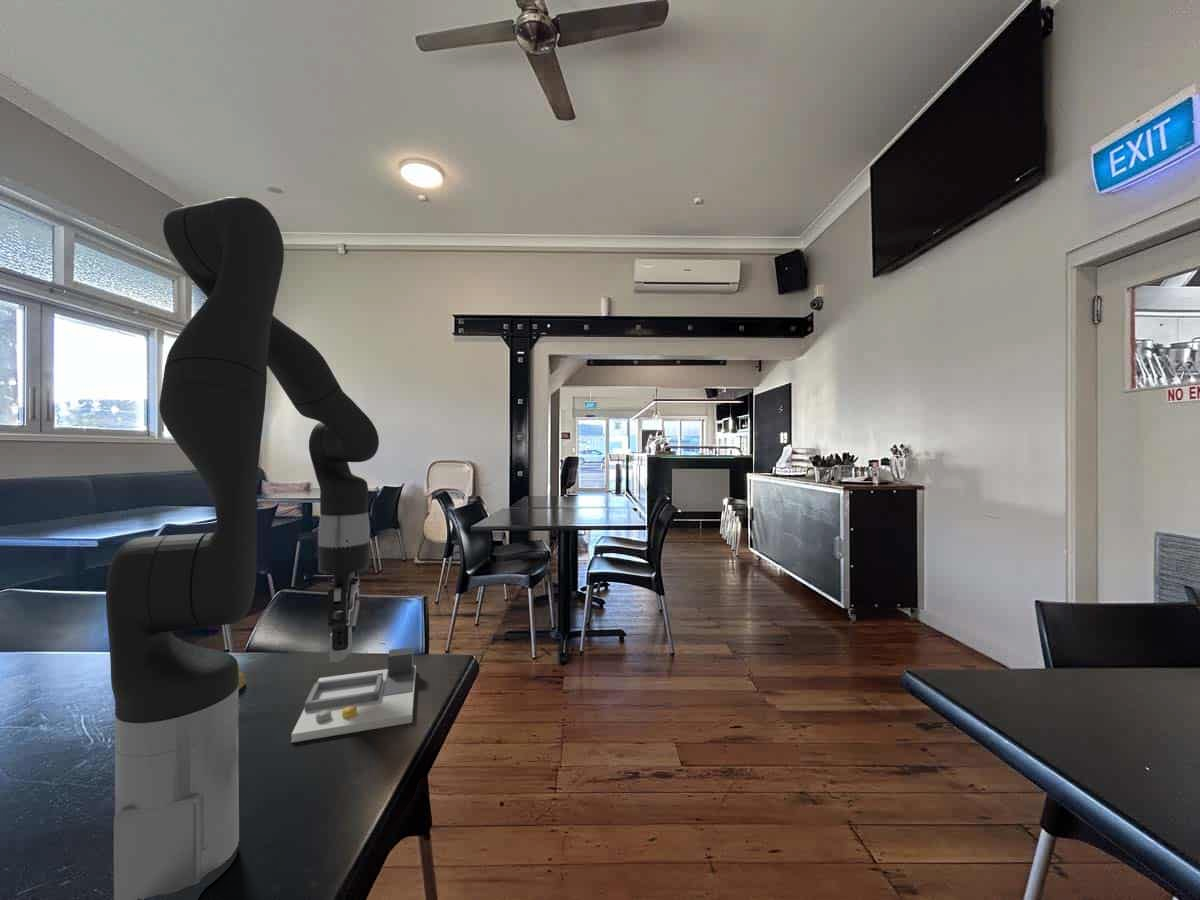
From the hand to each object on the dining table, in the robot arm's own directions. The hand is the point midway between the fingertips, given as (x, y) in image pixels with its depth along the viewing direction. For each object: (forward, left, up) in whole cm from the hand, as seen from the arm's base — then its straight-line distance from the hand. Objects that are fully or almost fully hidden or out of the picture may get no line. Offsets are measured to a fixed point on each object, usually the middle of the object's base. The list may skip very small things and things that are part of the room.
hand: (344, 640), depth 81 cm
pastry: (+12, +21, -11) cm, 27 cm away
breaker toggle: (+6, -8, -9) cm, 13 cm away
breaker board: (-1, -3, -10) cm, 11 cm away
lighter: (0, 0, -2) cm, 2 cm away
